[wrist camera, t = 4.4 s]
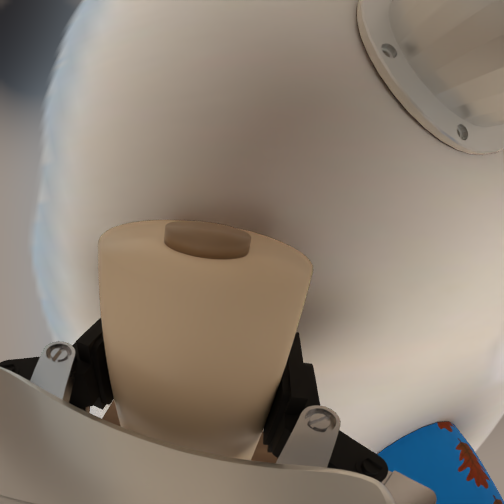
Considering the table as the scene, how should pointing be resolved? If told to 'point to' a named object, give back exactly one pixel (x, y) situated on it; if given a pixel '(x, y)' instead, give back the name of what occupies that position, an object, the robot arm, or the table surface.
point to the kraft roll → (198, 329)
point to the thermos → (442, 465)
